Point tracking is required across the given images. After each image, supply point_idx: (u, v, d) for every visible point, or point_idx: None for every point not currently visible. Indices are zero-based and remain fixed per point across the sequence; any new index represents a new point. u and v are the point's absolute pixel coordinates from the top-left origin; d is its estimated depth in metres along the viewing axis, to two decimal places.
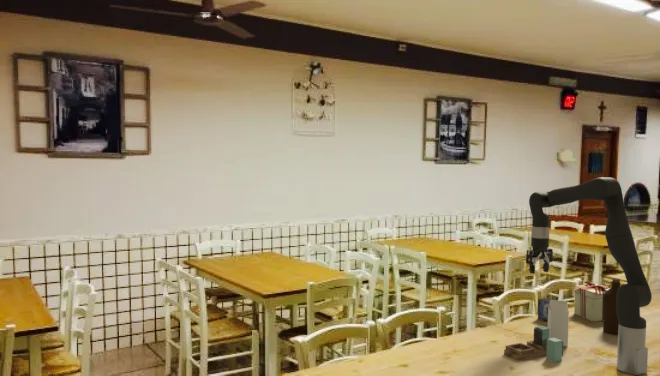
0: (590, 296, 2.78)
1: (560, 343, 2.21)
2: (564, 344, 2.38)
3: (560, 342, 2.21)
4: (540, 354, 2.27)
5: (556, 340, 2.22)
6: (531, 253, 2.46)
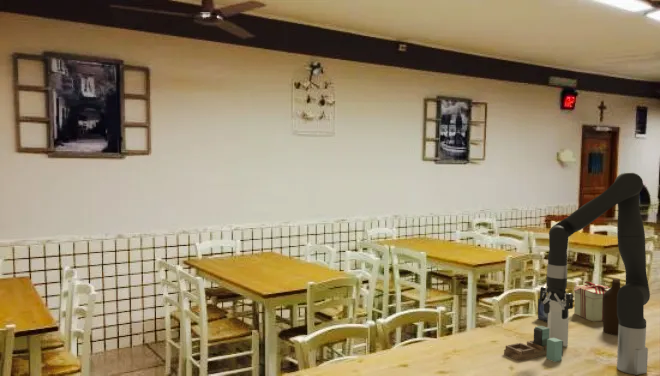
0: (590, 296, 2.78)
1: (560, 343, 2.21)
2: (564, 344, 2.38)
3: (560, 342, 2.21)
4: (540, 354, 2.27)
5: (556, 340, 2.22)
6: None
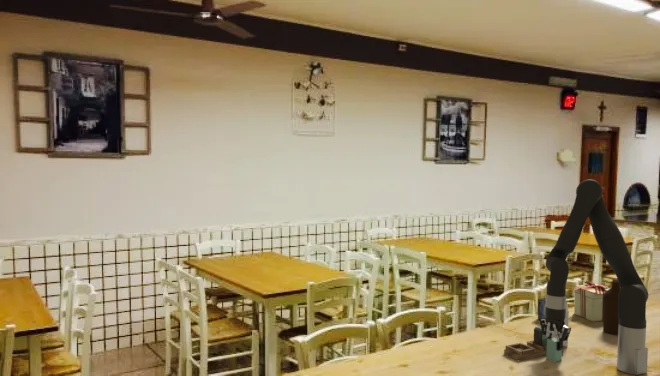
0: (590, 296, 2.78)
1: None
2: (564, 344, 2.38)
3: None
4: (540, 354, 2.27)
5: (556, 340, 2.22)
6: None
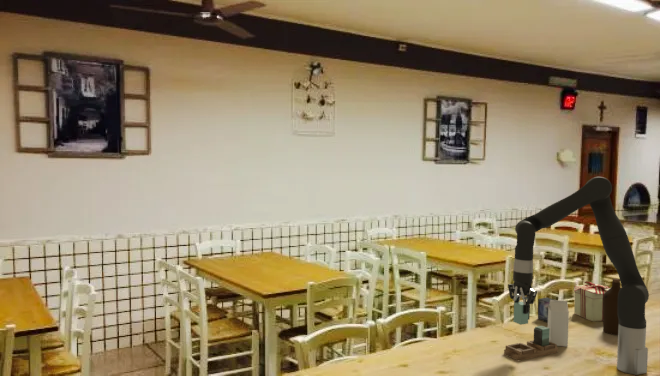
0: (590, 296, 2.78)
1: None
2: (564, 344, 2.38)
3: None
4: (540, 354, 2.27)
5: (523, 303, 2.25)
6: None
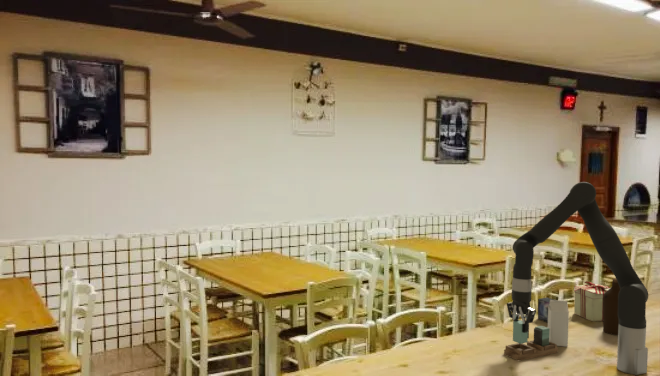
0: (590, 296, 2.78)
1: None
2: (564, 344, 2.38)
3: None
4: (540, 354, 2.27)
5: (522, 322, 2.25)
6: None
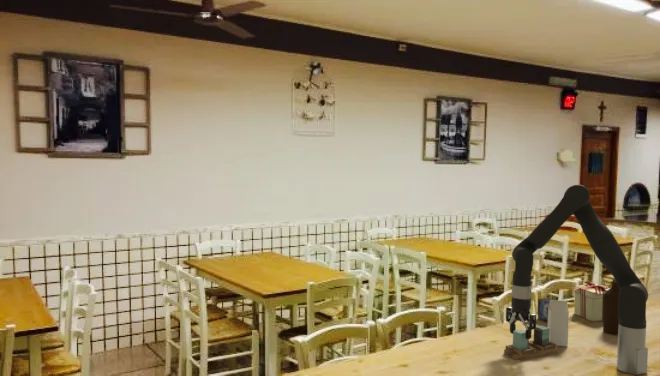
0: (590, 296, 2.78)
1: None
2: (564, 344, 2.38)
3: None
4: (540, 354, 2.27)
5: (522, 332, 2.25)
6: None
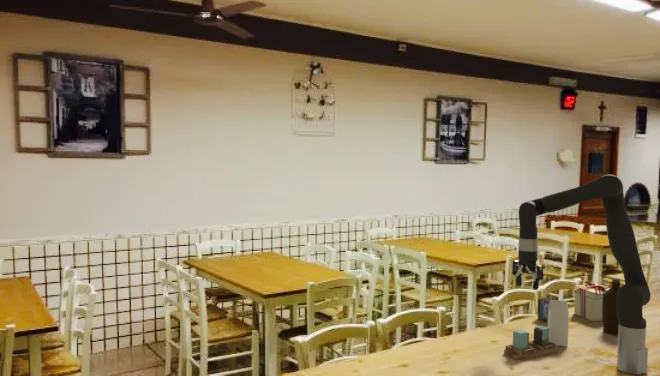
0: (590, 296, 2.78)
1: (526, 335, 2.25)
2: (564, 344, 2.38)
3: (526, 334, 2.25)
4: (540, 354, 2.27)
5: (522, 332, 2.25)
6: None
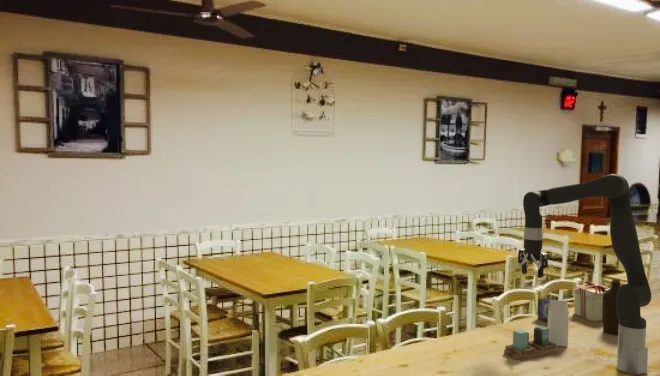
0: (590, 296, 2.78)
1: (526, 335, 2.25)
2: (564, 344, 2.38)
3: (526, 334, 2.25)
4: (540, 354, 2.27)
5: (522, 332, 2.25)
6: None
